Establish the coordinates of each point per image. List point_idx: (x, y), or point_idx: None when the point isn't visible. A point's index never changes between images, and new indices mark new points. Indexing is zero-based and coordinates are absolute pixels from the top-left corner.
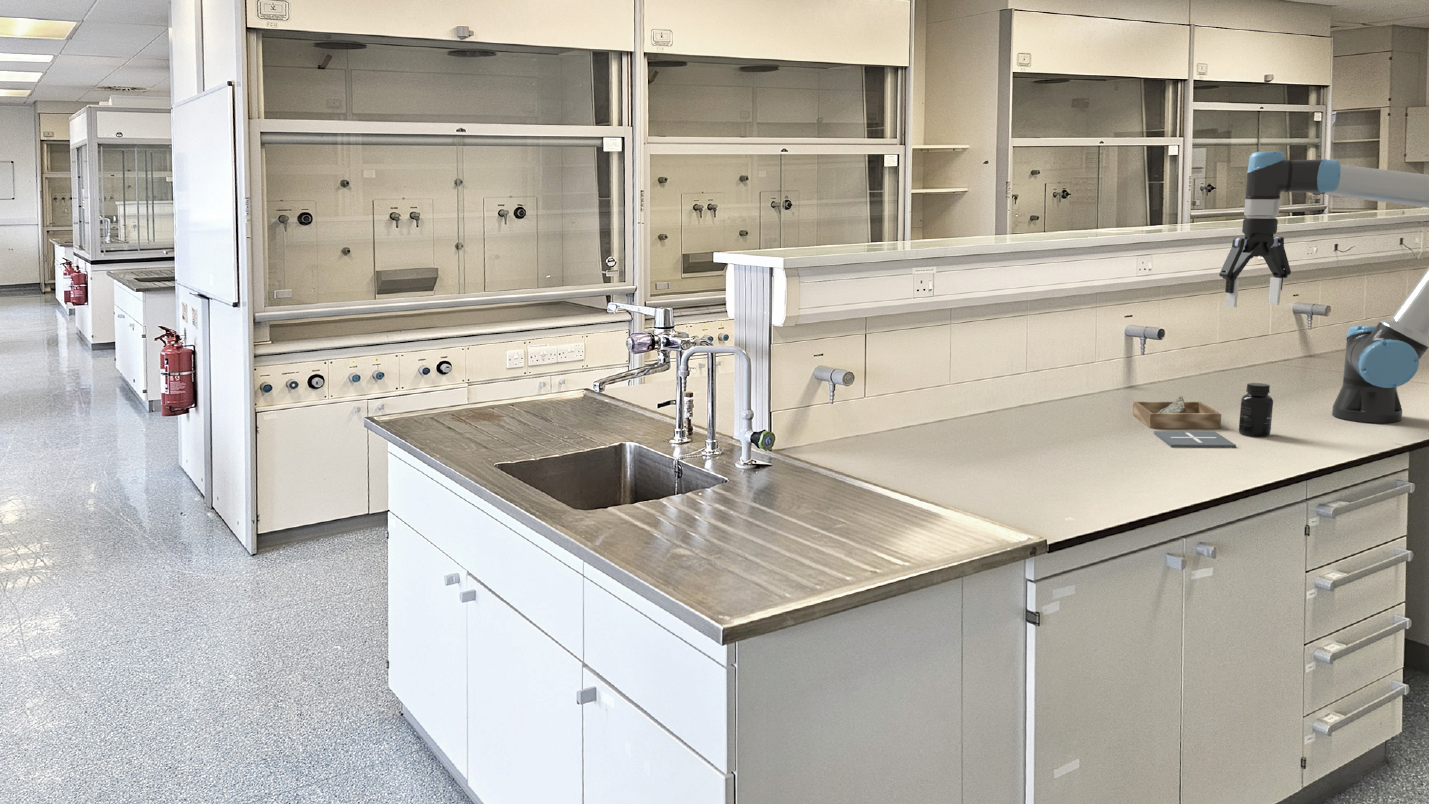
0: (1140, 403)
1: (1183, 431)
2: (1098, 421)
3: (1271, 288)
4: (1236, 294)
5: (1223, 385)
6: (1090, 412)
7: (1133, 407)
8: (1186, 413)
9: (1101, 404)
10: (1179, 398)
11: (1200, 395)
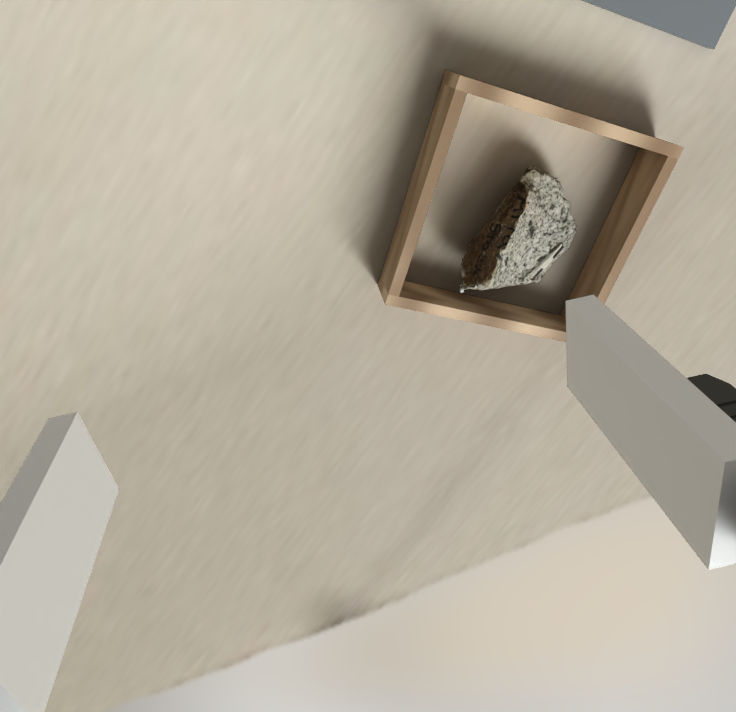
0: None
1: (632, 12)
2: (715, 262)
3: (68, 586)
4: (640, 355)
5: None
6: None
7: None
8: (568, 121)
9: (545, 459)
10: (496, 277)
11: (206, 527)
